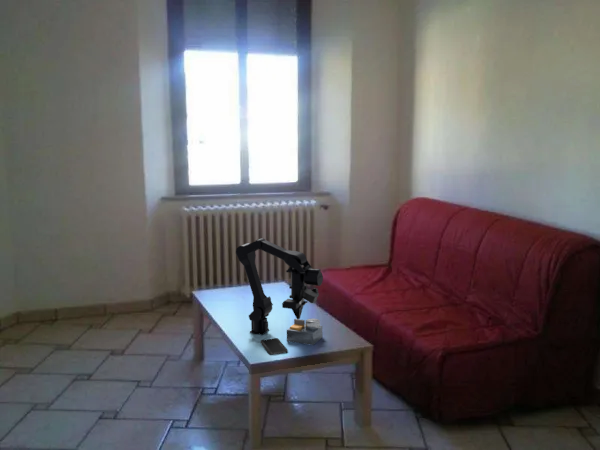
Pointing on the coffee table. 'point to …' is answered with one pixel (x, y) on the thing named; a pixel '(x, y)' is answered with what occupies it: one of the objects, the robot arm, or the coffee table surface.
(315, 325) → the grey rounded piece
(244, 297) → the coffee table surface
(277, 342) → the phone
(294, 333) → the hitch block
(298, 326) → the grey orange block
